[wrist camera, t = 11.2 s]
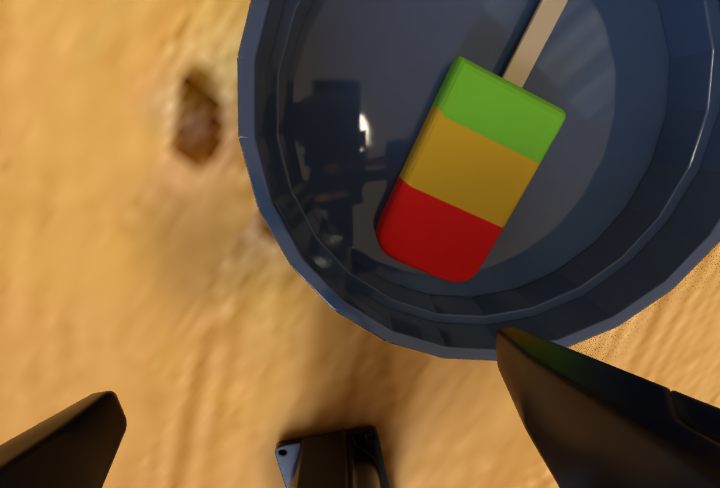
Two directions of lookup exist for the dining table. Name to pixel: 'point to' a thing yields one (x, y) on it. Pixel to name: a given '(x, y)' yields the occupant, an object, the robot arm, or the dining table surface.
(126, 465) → the dining table surface
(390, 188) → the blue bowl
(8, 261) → the dining table surface
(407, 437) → the dining table surface
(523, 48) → the popsicle
